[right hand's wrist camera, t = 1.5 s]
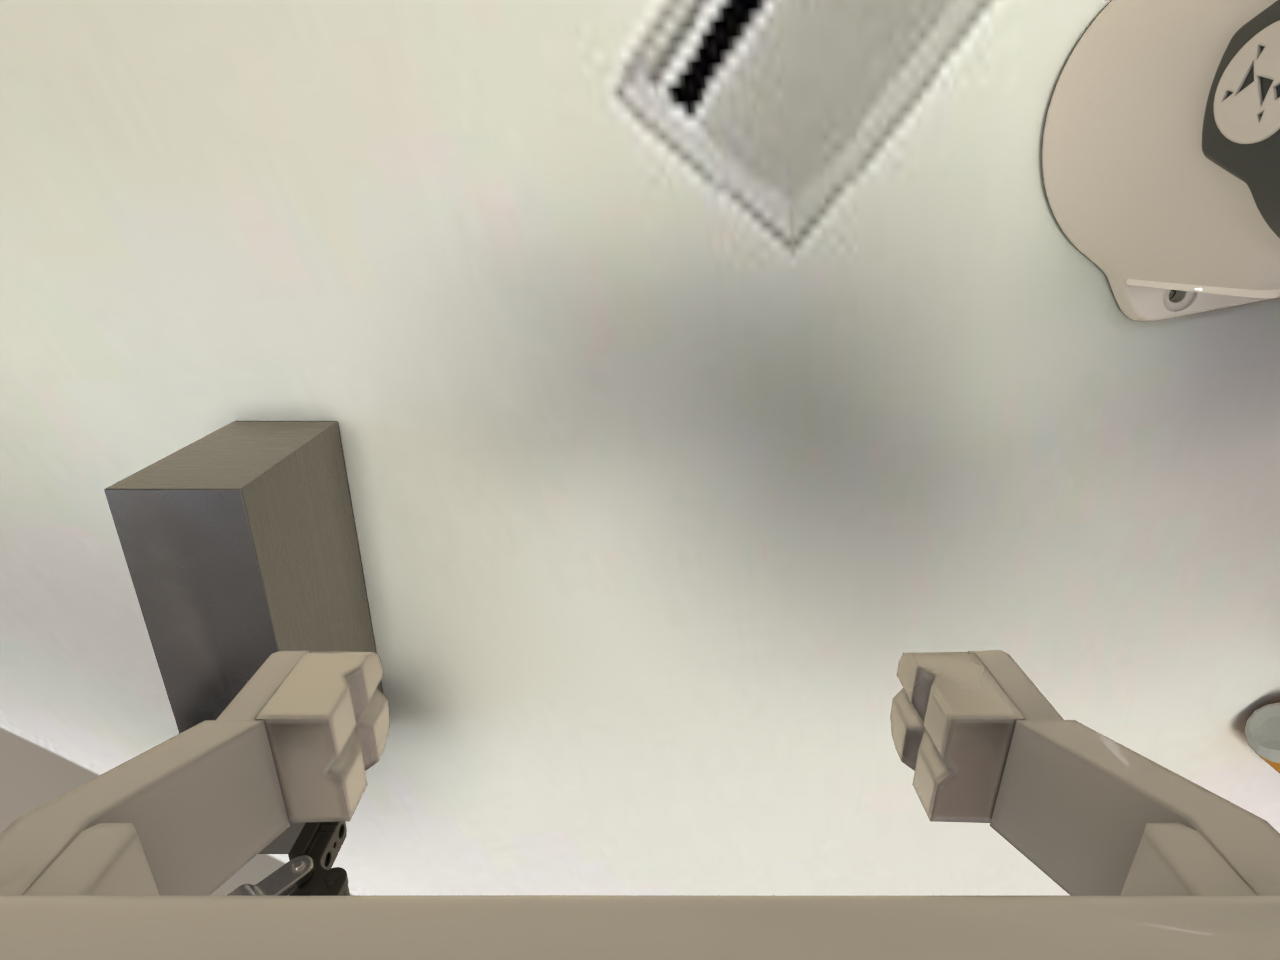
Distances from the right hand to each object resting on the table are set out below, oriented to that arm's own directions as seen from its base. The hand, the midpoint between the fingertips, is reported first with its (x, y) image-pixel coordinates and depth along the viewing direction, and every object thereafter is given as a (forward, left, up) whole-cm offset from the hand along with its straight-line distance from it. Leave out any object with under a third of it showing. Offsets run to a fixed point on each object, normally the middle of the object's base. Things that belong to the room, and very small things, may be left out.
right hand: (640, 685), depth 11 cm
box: (+20, +15, -28) cm, 38 cm away
